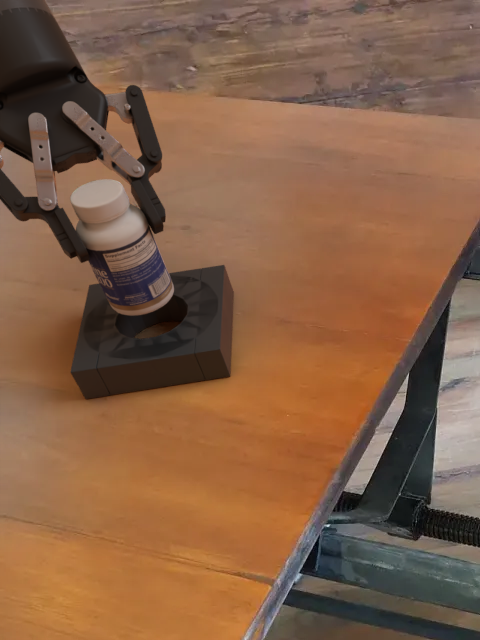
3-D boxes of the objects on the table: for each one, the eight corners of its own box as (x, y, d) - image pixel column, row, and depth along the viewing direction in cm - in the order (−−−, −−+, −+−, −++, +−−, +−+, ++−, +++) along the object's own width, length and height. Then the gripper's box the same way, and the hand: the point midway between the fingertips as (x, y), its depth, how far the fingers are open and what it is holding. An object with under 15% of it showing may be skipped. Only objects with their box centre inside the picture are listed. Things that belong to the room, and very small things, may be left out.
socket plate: (85, 399, 74) (70, 372, 71) (102, 311, 81) (89, 284, 79) (230, 376, 74) (220, 349, 72) (233, 291, 82) (224, 264, 80)
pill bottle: (105, 291, 75) (54, 186, 68) (167, 271, 77) (124, 166, 69) (117, 326, 72) (66, 220, 65) (182, 304, 74) (139, 198, 66)
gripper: (-109, 37, 60) (25, 267, 63) (96, -22, 65) (212, 193, 68) (-83, 88, 67) (36, 293, 70) (100, 32, 72) (205, 225, 75)
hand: (122, 243), depth 69 cm, fingers closed on pill bottle, 5 cm apart
